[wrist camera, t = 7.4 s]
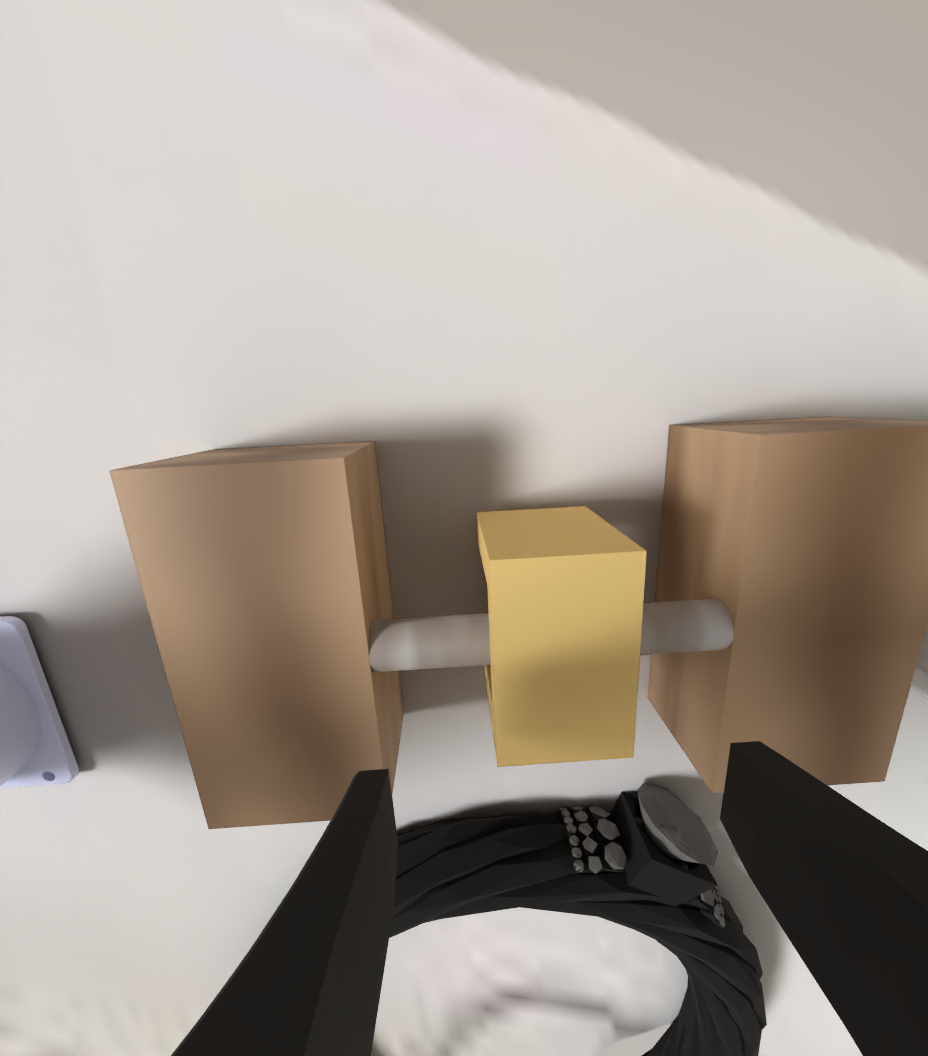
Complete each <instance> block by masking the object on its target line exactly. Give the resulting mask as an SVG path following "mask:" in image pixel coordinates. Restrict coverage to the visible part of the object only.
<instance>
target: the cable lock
mask: <svg viewBox="0 0 928 1056" xmlns="http://www.w3.org/2000/svg"><path fill="white" fill-rule="evenodd" d="M638 797H639V798H636V797H634V796H632V795H629V794H627V793H624V792H621V794H620V796H619V798H618V800H617V802H616V804H615V805H614V807H613V809H612V812H611V814H610V817H609V819H608V818H607V817H608V816H609V813H608V812H607V811H605V810H604V809H602V808H600V807H598V806H591V807H589V809H590V811H586V813H585V812H584V811H583V807H584V806H571V808H572V809H573V810H571V813H572V816H573V819H574V820H573V819H572V818H571V817H570V812H568V811H567V810H568V809H566V808H563V807H561V808H559V810H558V811H559V815H560V817H555V816H548V815H542V814H527V815H515V816H504V817H493V818H471V819H451V820H443V821H439V822H436V823H433V824H430V825H428V826H425V827H422V828H419V829H416V830H414V831H411V832H408V833H405V834H403V835H400V836H397V840H398V852H397V868H396V883H395V896H394V907H393V914H392V921H391V927H390V934H389V938H390V937H392V936H395V935H397V934H399V933H402V932H404V931H406V930H408V929H411V928H413V927H415V926H418V925H420V924H422V923H426V922H430V921H434V920H438V919H444V918H450V917H457V916H464V915H470V914H477V913H483V912H490V911H497V910H503V909H510V908H517V907H523V908H531V909H540V910H548V911H557V912H565V913H574V914H582V915H590V916H598V917H601V918H604V919H606V920H609V921H612V922H615V923H618V924H621V925H623V926H626V927H629V928H632V929H634V930H636V931H639V932H641V933H643V934H645V935H647V936H649V937H651V938H654V939H655V940H657V941H658V942H659V943H661V944H662V945H663V946H665V947H666V948H667V949H669V950H670V951H671V952H672V953H674V954H675V955H676V956H677V957H678V958H679V960H680V961H681V963H682V964H683V965H684V967H685V968H686V971H687V974H688V987H687V991H686V994H685V997H684V1001H683V1004H682V1007H681V1010H680V1013H679V1016H678V1017H677V1018H676V1019H675V1021H674V1022H673V1023H672V1024H671V1026H670V1027H669V1028H668V1029H667V1031H666V1032H665V1033H664V1035H663V1036H662V1037H661V1038H660V1040H659V1041H658V1042H657V1043H656V1045H655V1046H654V1047H653V1048H652V1049H650V1050H649V1051H648V1052H646V1053H645V1054H643V1055H642V1056H758V1053H759V1046H760V1039H761V1032H762V1031H761V1030H762V1029H763V1028H764V1027H765V1026H766V1025H767V1024H766V1015H765V1007H764V998H763V990H762V983H761V982H760V978H761V976H762V974H763V973H762V969H761V965H760V962H759V958H758V954H757V950H756V947H755V946H754V945H753V944H752V943H751V942H750V941H749V940H748V938H747V937H746V936H745V935H744V934H743V926H742V924H741V923H740V921H739V919H738V917H737V915H736V914H735V912H734V910H733V908H732V907H731V905H730V903H729V902H728V901H727V900H725V899H724V898H723V897H721V896H720V895H718V894H717V892H716V891H718V889H717V887H716V886H718V885H717V883H716V881H715V880H714V878H713V876H712V874H711V872H710V871H709V869H708V867H707V865H706V864H708V865H714V863H715V860H716V857H717V854H718V851H717V849H716V847H715V845H714V842H713V840H712V838H711V836H710V834H709V832H708V831H707V829H706V827H705V825H704V824H703V822H702V820H701V819H700V817H698V816H697V815H696V814H695V813H694V812H693V811H692V810H691V809H689V808H688V807H687V806H686V805H685V804H684V803H683V802H682V801H680V800H679V799H678V798H677V797H676V796H675V795H674V794H672V793H671V792H670V791H669V790H667V789H666V788H663V787H660V786H656V785H650V784H642V786H641V787H640V788H639V789H638ZM715 890H716V891H715Z"/></svg>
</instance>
